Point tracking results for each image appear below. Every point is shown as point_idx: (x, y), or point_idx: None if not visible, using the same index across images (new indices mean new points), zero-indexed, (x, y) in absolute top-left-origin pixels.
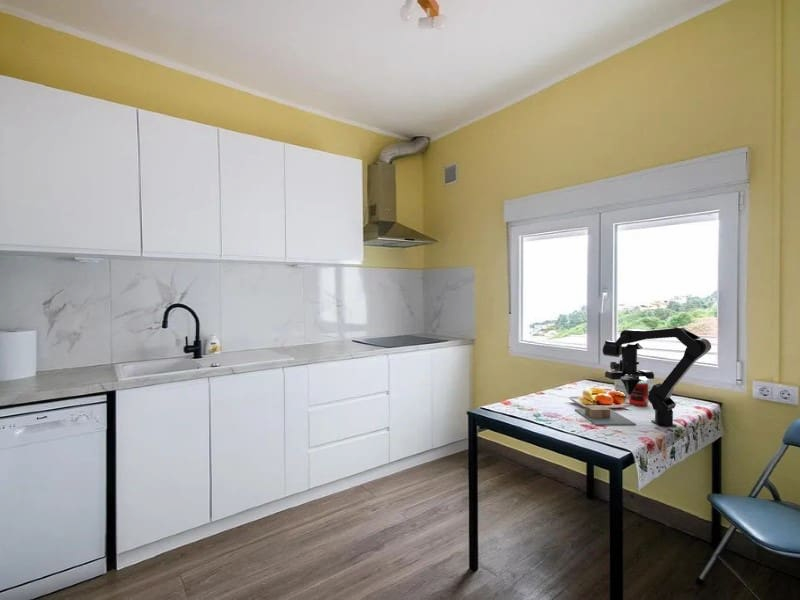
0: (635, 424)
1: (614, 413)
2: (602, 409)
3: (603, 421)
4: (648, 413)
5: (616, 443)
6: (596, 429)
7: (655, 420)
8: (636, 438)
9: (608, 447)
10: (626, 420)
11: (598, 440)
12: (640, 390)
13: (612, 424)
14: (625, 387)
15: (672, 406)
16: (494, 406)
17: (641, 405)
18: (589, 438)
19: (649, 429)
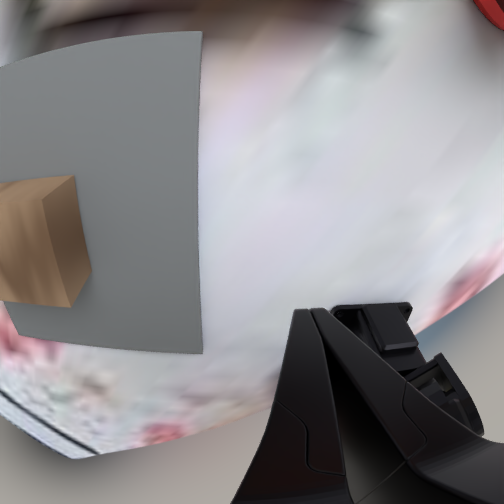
0: (201, 350)
1: (164, 167)
2: (24, 300)
3: (48, 314)
4: (442, 159)
5: (75, 432)
6: (24, 361)
7: (353, 315)
8: (138, 427)
9: (56, 436)
10: (176, 312)
11: (34, 413)
12: None
13: (84, 342)
14: (275, 396)
15: (444, 390)
16: None
17: (495, 24)
18: (14, 400)
19: (236, 386)
